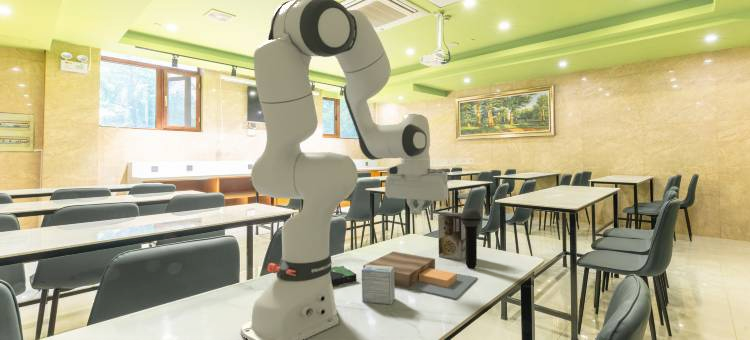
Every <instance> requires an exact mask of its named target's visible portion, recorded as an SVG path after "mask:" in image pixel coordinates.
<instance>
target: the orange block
mask: <svg viewBox="0 0 750 340" xmlns="http://www.w3.org/2000/svg"><path fill="white" fill-rule="evenodd" d="M457 274H458V273H456V272H451V271H447V270H442V269H436V268H435V269H432V268H429V269H427V270H426V271H424V272H422V273H421V274H419V281H421V282H425V283H430V284H434V285H438V286H443V287H448V286H450V285H451V284H452V283H454V282H455V281H456V280H457Z"/></svg>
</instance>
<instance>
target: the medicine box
mask: <svg viewBox="0 0 750 340" xmlns="http://www.w3.org/2000/svg"><path fill="white" fill-rule="evenodd" d="M395 289H396V288H395V285H394V267H389V266H376V265H366V266H365V267H364V268H363V267H362V270H361V297H362V298H361V299H362V300H361V301H362V302H364V303H374V304H382V305H392V304H393V302H394V300H395V297H396V295H395V294H396V292H395V291H396V290H395Z"/></svg>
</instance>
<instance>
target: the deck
mask: <svg viewBox="0 0 750 340" xmlns="http://www.w3.org/2000/svg"><path fill="white" fill-rule="evenodd" d="M366 265H376V266H389V267H394V286H396V287H400V288H403V289H408V290H410V289H409V287H410V286H411V285H413V284H414V283H416V282H417V281H419V274H421V273H422V272H424V271H426V270H427V269H429V268H432V269H436V258H434V257H427V256H421V255H415V254H411V253H404V252H398V251H391V252H390V253H387V254H385V255H383V256H381V257H379V258H376V259H374V260H372V261H370V262H368V263H365V264H363V265H362V269H363V268H364V267H365V266H366Z"/></svg>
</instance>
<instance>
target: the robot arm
mask: <svg viewBox="0 0 750 340" xmlns="http://www.w3.org/2000/svg"><path fill="white" fill-rule="evenodd" d="M267 38H268V40H267V41H265V42H262V43H261V44H260V45H259V46H258V47H257V48H256V49H255V51H254V52H253V71H254V79H255V85H256V90H257V91H256V92H257V94H258V95H257V96H258V100H259V103H260V107H261V111H262V115H263V120H264V124H265V131H266V142H265V143H266V145H265V147H264V150H263V153H261V155H260V156H259V157H258V158H257V159H256V161H255V162H254V164H253V166H252V168H251V172H250V178H251V183H252V186H253V188H254V190H255V191H256V192H257V193H258V194H259V195H260V196H261V195H262V196H265V197H269V198H274V199H280V200H281V199H282V200H283V199H286V200H289V199H292V200H293V199H294V200H303V204H302V208H301V210H300V212H298V213H296V214H294V215H292V216H291V217H289V218H288V219H287V220H286V221H285V222H284V224H283V225H282V228H281V255H282V256H281V258H280V261H279V263H274V262H270V263H268V266H267V271H268V272H269V273H273V274H276V277H275V278H274V279H273V280H272V281H271V283H270V284H269V285H268V286H267V288H266V289H265V290H264V291H263V292H262V293H261V294H260V295H259V297H257V299H256V300H255V301H254V302H253V303H254V304H253V307H252V314H251V320H249V321H247V322H246V323H244V324H243V325H241V327H240V334H241V333H242V334H241V336H242V335H243V336H244V337H246V338H247V339H249V340H303V339H304V340H306V339H308V338H310V337H312V336H314V335H317V334H319V333H321V332H324V331H325V330H328V329H330V328H332V327H334V326H337V325H338V324H339V323H340V320H339V316H338V308H337V305H336V301H335V294H334V286H332V281H331V276H330V271H331V269H332V255H331V253H330V231H331V222H332V219H333V216H334V214H335V212H336V209H337V208H338V206H340V204H341V203H342V202H343V201H344V200H345V199H346V198H348V197H350V195H351V194H352V193H353V191H354V190H355V188H356V186H357V184H358V181H359V176H358V174H359V172H358V168H357V166H356V163H355V162H354V160H353V159H352V158H351V157H350V156H349V155H345V154H341V153H335V152H330V151H329V152H304V151H302V150H301V144H302V143H303V142H304V141H306V140H307V139H309V138H310V137H312V136H313V134H315V132H316V131H317V127H318V125H319V124H318V123H319V122H318V115H317V112H316V110H317V109H316V105H315V100H314V95H313V89H312V84H311V81H310V77H309V76H310V75H309V74H310V73H309V70H310V63H311V60H312V57H323V58H329V57H335V59H336V60H337V62H338V65H339V66H340V68H341V70H342V72H343V74H344V78H345V81H346V83H345V84H344V85H343V96H344V97H343V98H344V101H345V104H346V107H347V110H348V112H349V113H348V114H349V115H350V118H351V120H352V123H353V126H354V129H355V131H356V133H357V134H356V135H357V138H358V144H359V149H360V150H361V153H362V154H363V155H364V156H365V157H366V158H367V159H369V160H372V161H373V160H375V161H376V160H381V159H400V163H397V164H395V165H392V166H389V167H387V168H386V174H387V176H386V177H385V182H384V196H386V198H388V199H400V200H401V199H403V200H406V203H407V206H408V207H409V213H410V215H417V216H419V215H421V214H422V209H423V206H424V205H425V201H431V202H433V201H434V202H444V201H447V200H448V199H449V187H448V186H449V185H448V182H449V177H448V175H449V174H448V173H447V172H446V171H445V170H444V169H441V168H438V169H435V168H431V155H430V146H431V133H430V131H431V130H430V125H429V119H428V118H427V117H426V116H424V115H422V114H417V113H412V114H405V115H404V116H403V117H402V121H401V122H399V123H396V124H395V123H394V124H387V125H384V124H383V125H380V124H377V123H375V122H374V120H373V117H372V113H371V111H370V108H369V105H368V101H369V100H370V99H372V98H373V97H375V96H376V95H377V94H379V93H380V92H381V91H383V89H384V87H385V86H386V85H387V84H388V82H389V79H390V77H391V70H392V68H391V64H390V63H391V62H390V60H389V58H388V55H387V53H386V50H385V48H384V45H383V43H382V41H381V38H380V36H379V35H378V33H377V32H376V30H375V28H374V26H373V25H372V22H370V20H369V18H368V17H367V16H366V15H365V14H364V13H363V12H362V11H360V10H357V9H347V8H346V7H345V6H344V5H343V4H341V3H340V2H339V1H337V0H288V1H286V2H284V3H282V4H280V5H279V6H278V7H277V8H276V9H275V11H274V12H273V14H272V18H271V23H270V30H269V34H268V37H267ZM416 200H417V202H416V203H417V204H418V205H417V207H416V206H415V205H414V202H415V201H416ZM243 336H242V337H243ZM244 337H243V338H244Z"/></svg>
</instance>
